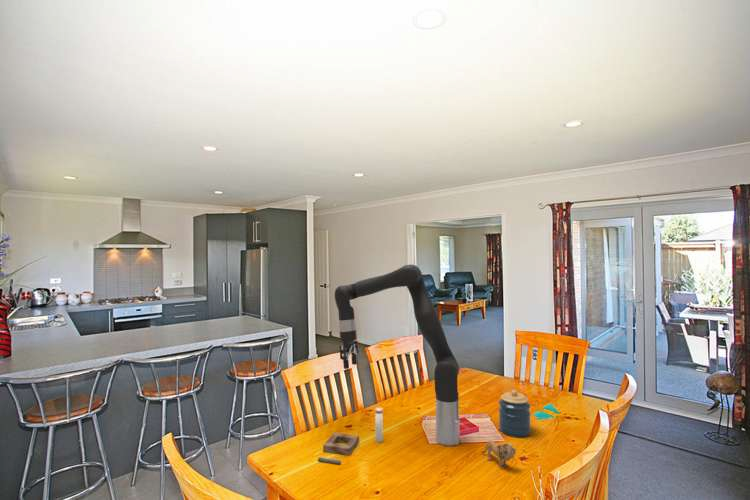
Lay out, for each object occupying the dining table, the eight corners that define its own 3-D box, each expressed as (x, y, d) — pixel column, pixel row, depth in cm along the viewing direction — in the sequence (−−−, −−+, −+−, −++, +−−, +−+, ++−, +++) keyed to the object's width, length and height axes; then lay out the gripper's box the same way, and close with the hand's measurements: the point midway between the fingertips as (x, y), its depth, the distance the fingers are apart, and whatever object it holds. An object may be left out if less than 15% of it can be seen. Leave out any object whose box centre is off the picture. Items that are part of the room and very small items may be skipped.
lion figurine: (519, 469, 136) (518, 444, 136) (509, 474, 133) (509, 448, 133) (486, 452, 148) (485, 428, 148) (476, 456, 145) (476, 432, 145)
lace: (341, 463, 140) (341, 460, 140) (340, 465, 139) (340, 461, 139) (318, 459, 143) (318, 456, 143) (317, 461, 142) (317, 458, 142)
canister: (531, 427, 169) (531, 387, 169) (530, 440, 157) (529, 397, 158) (500, 422, 174) (500, 383, 175) (497, 434, 163) (496, 392, 163)
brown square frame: (359, 442, 156) (359, 436, 156) (349, 455, 146) (349, 449, 146) (334, 438, 160) (334, 432, 160) (323, 451, 149) (323, 445, 149)
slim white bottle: (383, 439, 159) (383, 407, 159) (381, 443, 156) (381, 410, 156) (376, 438, 159) (376, 407, 160) (374, 441, 156) (374, 410, 157)
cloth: (545, 425, 172) (545, 420, 172) (519, 415, 184) (519, 410, 184) (577, 412, 186) (577, 407, 186) (551, 403, 198) (551, 399, 198)
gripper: (348, 331, 164) (351, 370, 163) (361, 327, 178) (364, 362, 176) (332, 332, 167) (335, 370, 165) (347, 328, 180) (349, 363, 179)
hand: (350, 366), depth 171 cm, fingers open, 8 cm apart
